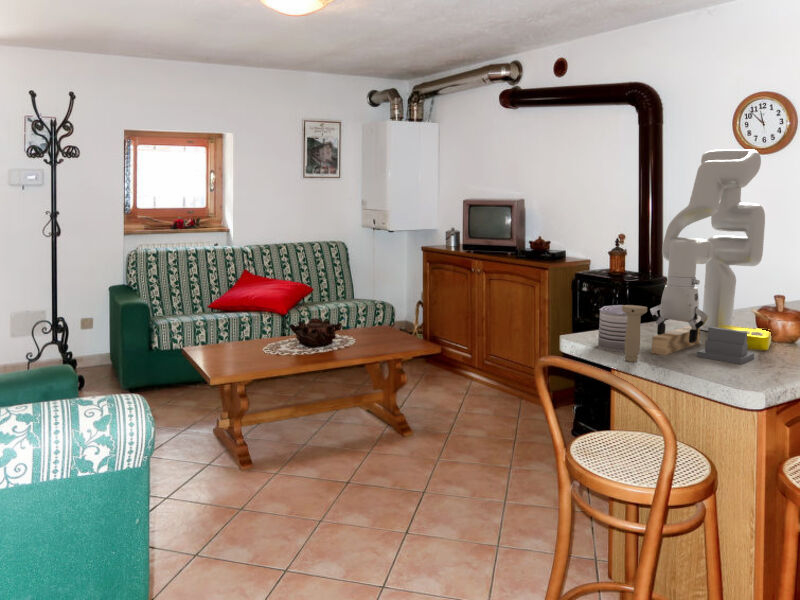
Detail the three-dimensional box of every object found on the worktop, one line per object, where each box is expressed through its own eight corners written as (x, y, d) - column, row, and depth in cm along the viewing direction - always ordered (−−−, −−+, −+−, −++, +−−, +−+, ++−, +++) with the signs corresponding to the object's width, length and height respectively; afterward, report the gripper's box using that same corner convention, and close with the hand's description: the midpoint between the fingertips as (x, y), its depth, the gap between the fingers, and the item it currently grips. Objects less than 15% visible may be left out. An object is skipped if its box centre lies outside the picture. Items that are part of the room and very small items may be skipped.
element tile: (771, 343, 223) (772, 328, 222) (767, 352, 210) (769, 336, 209) (719, 337, 230) (720, 322, 230) (712, 345, 218) (713, 330, 217)
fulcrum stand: (710, 351, 208) (712, 324, 207) (754, 358, 200) (756, 330, 199) (696, 356, 201) (698, 328, 200) (740, 364, 193) (743, 335, 192)
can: (645, 351, 207) (648, 310, 205) (609, 352, 205) (611, 311, 203) (625, 342, 218) (627, 304, 216) (590, 343, 216) (593, 304, 214)
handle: (641, 364, 191) (645, 309, 189) (617, 361, 194) (620, 306, 192) (645, 360, 195) (648, 306, 193) (621, 357, 198) (624, 304, 196)
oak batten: (686, 341, 222) (687, 326, 221) (699, 343, 219) (700, 328, 219) (651, 353, 205) (652, 336, 204) (664, 356, 202) (666, 338, 202)
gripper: (716, 284, 206) (711, 342, 208) (658, 278, 218) (654, 333, 221) (705, 286, 201) (700, 346, 203) (647, 280, 213) (643, 336, 215)
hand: (676, 339), depth 212 cm, fingers open, 9 cm apart
